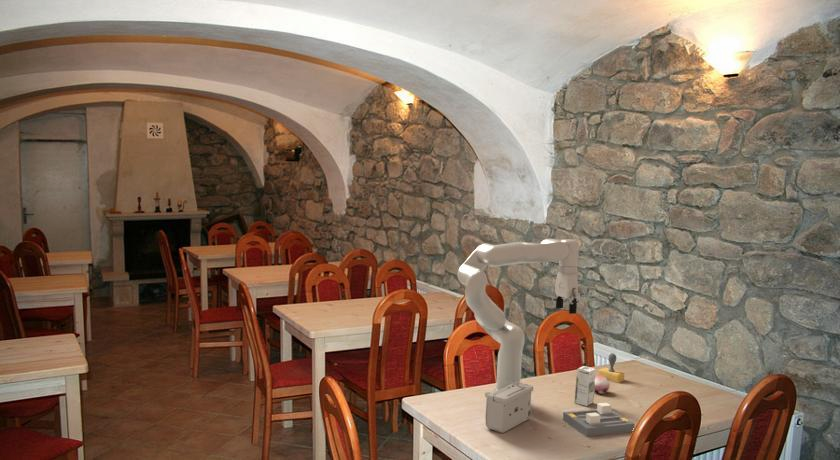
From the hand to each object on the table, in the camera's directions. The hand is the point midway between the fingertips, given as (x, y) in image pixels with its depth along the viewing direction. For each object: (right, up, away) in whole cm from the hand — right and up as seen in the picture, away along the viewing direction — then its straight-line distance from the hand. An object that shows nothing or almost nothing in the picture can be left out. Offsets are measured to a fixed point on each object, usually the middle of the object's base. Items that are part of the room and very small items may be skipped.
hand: (565, 310), depth 269 cm
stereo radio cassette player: (-27, -39, -28) cm, 55 cm away
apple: (+17, -37, +11) cm, 42 cm away
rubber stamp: (+27, -35, +30) cm, 54 cm away
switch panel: (+6, -39, -26) cm, 48 cm away
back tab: (+10, -36, -21) cm, 43 cm away
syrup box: (+7, -37, -3) cm, 38 cm away
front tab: (+3, -37, -32) cm, 48 cm away
